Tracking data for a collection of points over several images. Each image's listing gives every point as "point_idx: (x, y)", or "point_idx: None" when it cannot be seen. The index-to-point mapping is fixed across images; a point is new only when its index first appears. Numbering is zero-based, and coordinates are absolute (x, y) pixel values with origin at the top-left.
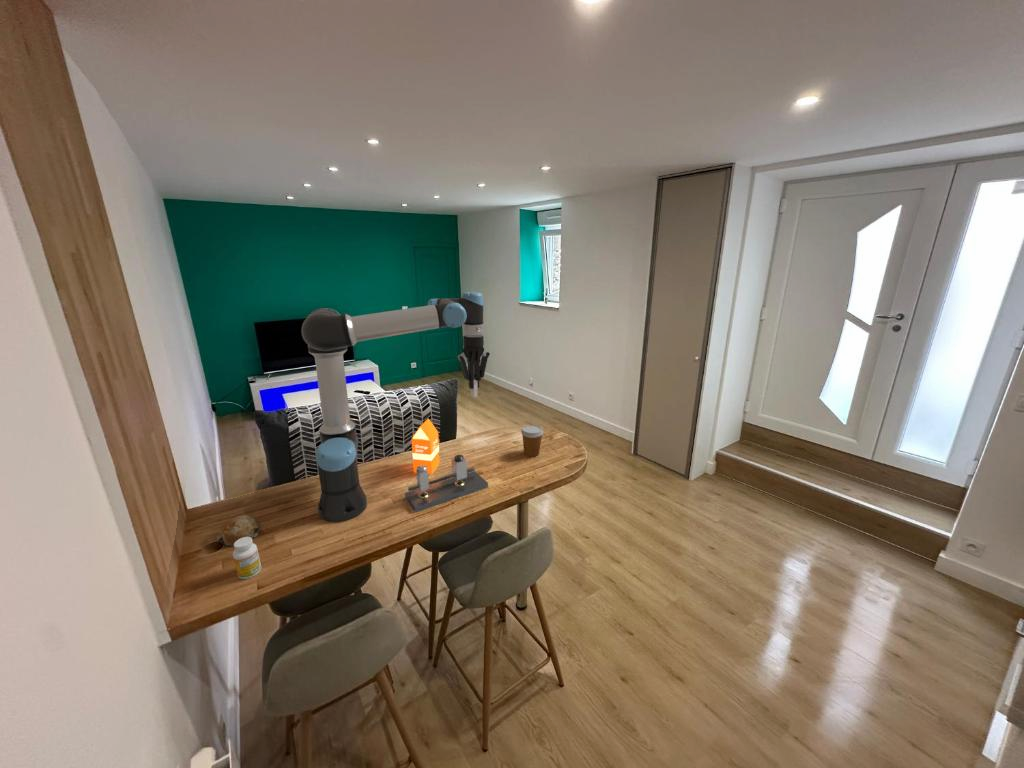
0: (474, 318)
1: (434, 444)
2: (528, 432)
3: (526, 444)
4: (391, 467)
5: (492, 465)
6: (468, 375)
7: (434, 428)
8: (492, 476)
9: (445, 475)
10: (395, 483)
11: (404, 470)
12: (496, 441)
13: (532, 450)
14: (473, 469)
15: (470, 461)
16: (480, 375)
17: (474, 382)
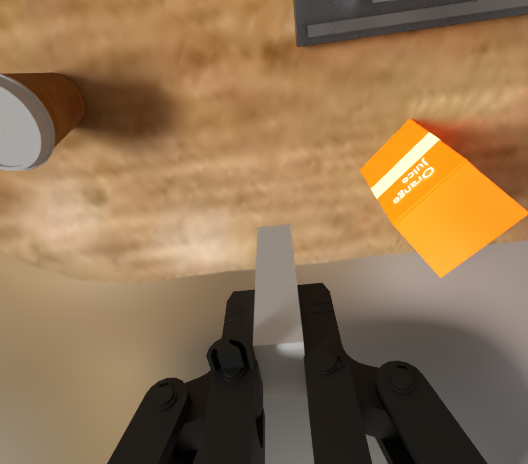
0: None
1: (415, 178)
2: (17, 99)
3: (58, 97)
4: None
5: (215, 86)
6: (412, 429)
7: (412, 234)
8: (242, 8)
9: (429, 19)
10: (523, 114)
11: None
12: (154, 224)
13: (46, 77)
14: (313, 24)
15: (271, 143)
16: (191, 414)
17: (295, 326)
